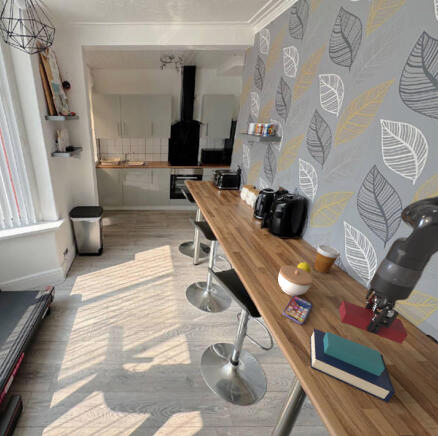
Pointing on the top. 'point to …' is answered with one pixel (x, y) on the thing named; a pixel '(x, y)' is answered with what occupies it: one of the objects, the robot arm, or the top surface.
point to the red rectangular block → (362, 318)
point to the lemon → (304, 266)
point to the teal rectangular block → (353, 353)
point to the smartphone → (297, 309)
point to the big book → (349, 371)
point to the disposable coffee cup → (325, 258)
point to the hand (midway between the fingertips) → (368, 323)
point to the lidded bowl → (294, 280)
